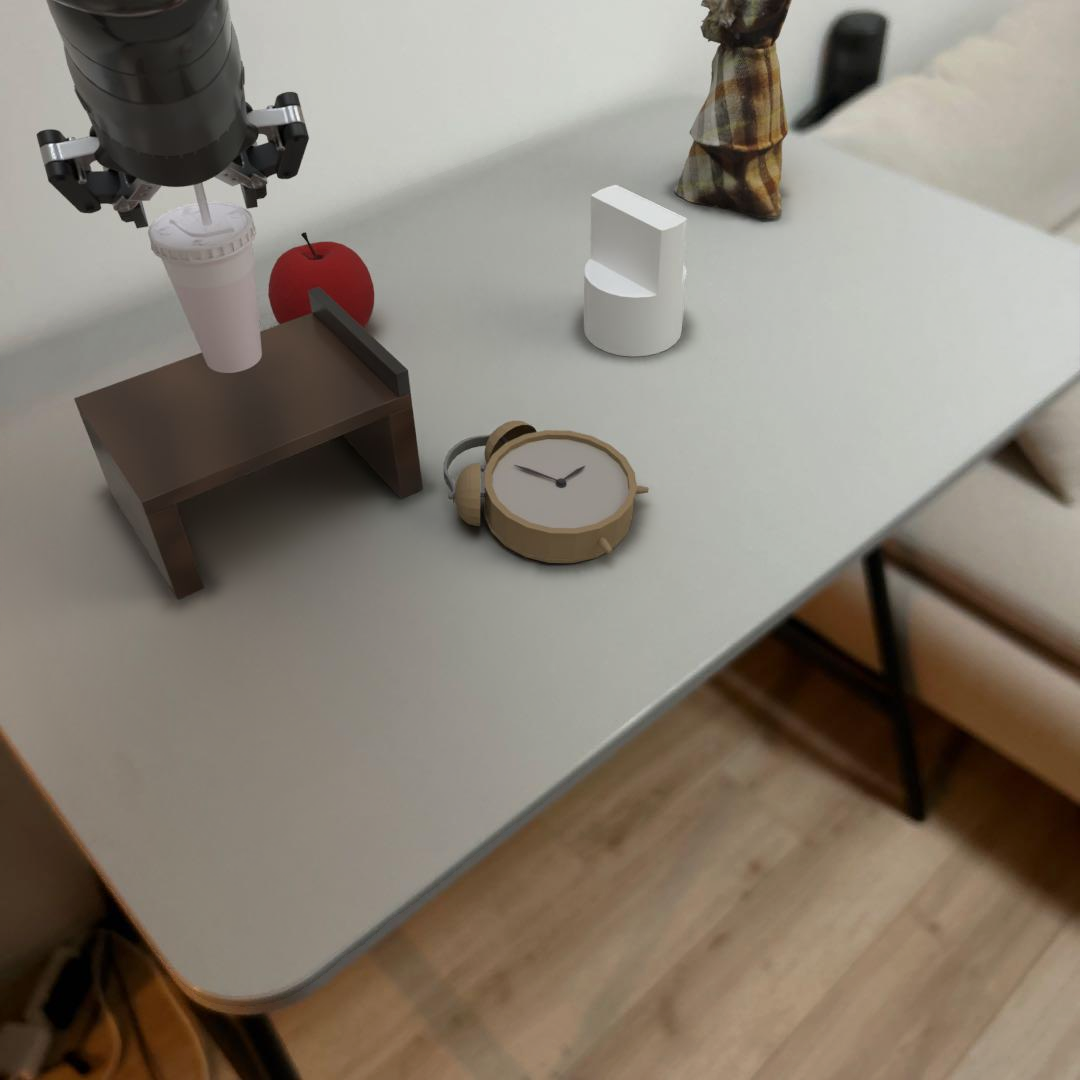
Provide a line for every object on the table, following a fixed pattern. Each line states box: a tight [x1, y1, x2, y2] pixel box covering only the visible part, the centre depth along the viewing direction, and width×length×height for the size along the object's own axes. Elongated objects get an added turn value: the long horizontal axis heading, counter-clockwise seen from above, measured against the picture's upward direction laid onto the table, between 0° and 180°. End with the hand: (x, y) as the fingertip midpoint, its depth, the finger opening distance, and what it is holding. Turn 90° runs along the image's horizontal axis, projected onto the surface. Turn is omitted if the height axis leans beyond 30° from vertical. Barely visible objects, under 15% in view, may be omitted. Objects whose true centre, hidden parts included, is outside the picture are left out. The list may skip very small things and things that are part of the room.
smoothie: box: [147, 182, 262, 373], centre depth 68 cm, size 6×6×14 cm
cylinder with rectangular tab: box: [583, 184, 688, 357], centre depth 96 cm, size 9×9×12 cm
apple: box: [268, 231, 375, 329], centre depth 97 cm, size 9×9×10 cm
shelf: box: [73, 287, 424, 600], centre depth 80 cm, size 20×14×11 cm
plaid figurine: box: [673, 0, 793, 219], centre depth 111 cm, size 14×14×25 cm
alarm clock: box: [442, 420, 649, 564], centre depth 81 cm, size 11×5×15 cm
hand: (193, 202), depth 67 cm, fingers closed on smoothie, 6 cm apart
